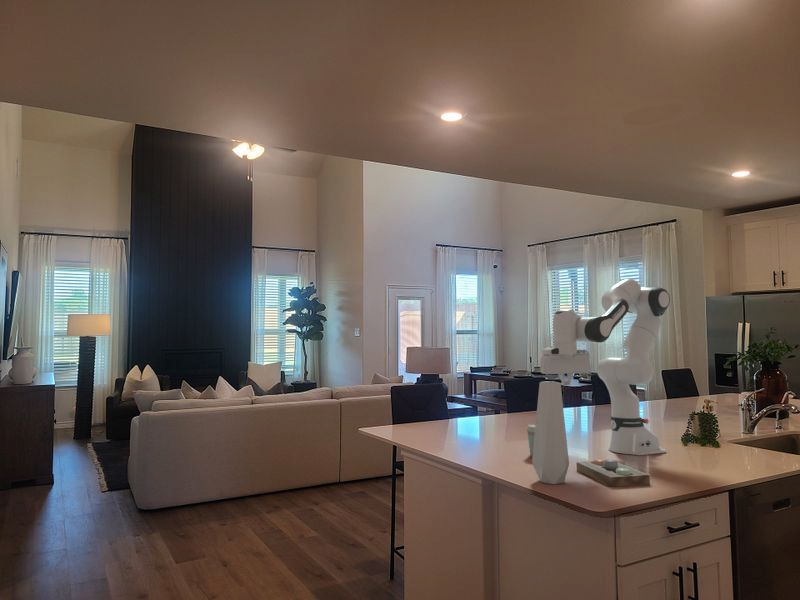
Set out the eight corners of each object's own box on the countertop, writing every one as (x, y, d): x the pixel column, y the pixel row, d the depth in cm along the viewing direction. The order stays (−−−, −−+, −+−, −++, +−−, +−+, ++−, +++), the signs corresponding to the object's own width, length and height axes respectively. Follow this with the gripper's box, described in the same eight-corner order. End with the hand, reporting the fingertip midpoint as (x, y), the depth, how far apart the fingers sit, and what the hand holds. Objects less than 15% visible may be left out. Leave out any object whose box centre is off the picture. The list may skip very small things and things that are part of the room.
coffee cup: (549, 458, 219) (548, 427, 220) (527, 457, 221) (526, 427, 221) (548, 453, 227) (547, 424, 228) (526, 453, 229) (526, 423, 230)
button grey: (613, 467, 192) (613, 459, 193) (620, 470, 188) (620, 461, 188) (601, 468, 192) (601, 459, 192) (609, 471, 187) (608, 462, 187)
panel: (611, 468, 202) (611, 460, 202) (649, 484, 180) (649, 474, 180) (576, 470, 199) (576, 461, 199) (610, 486, 178) (610, 477, 178)
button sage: (625, 476, 185) (625, 467, 186) (633, 480, 181) (632, 470, 181) (613, 477, 185) (613, 468, 185) (621, 480, 180) (620, 471, 180)
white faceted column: (578, 485, 180) (575, 383, 182) (545, 487, 177) (543, 384, 179) (560, 475, 192) (557, 380, 194) (529, 477, 189) (527, 381, 191)
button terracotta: (602, 467, 199) (602, 458, 199) (609, 470, 195) (609, 461, 195) (591, 467, 198) (591, 459, 199) (598, 470, 194) (597, 462, 194)
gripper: (585, 349, 224) (586, 383, 223) (537, 350, 220) (538, 384, 219) (593, 349, 217) (594, 385, 216) (544, 350, 214) (545, 386, 213)
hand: (566, 385), depth 218 cm, fingers closed
